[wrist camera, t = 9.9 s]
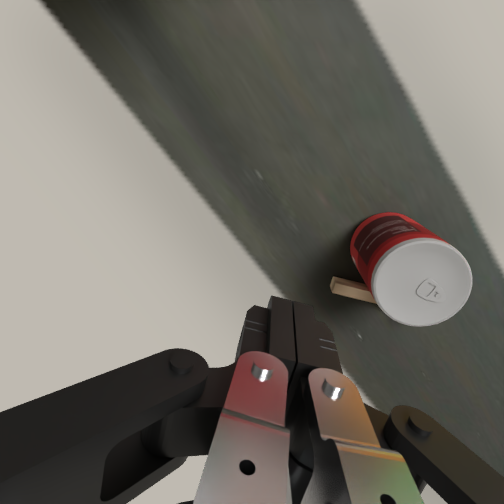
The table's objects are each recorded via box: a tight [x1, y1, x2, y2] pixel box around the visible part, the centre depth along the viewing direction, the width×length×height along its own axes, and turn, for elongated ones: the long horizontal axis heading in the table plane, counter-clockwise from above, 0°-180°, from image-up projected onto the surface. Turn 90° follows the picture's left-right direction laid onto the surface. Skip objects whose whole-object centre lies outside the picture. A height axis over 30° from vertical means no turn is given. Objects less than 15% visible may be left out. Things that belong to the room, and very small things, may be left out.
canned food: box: [350, 212, 472, 327], centre depth 34 cm, size 8×8×11 cm
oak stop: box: [330, 276, 377, 304], centre depth 38 cm, size 11×7×4 cm, turn 77°
